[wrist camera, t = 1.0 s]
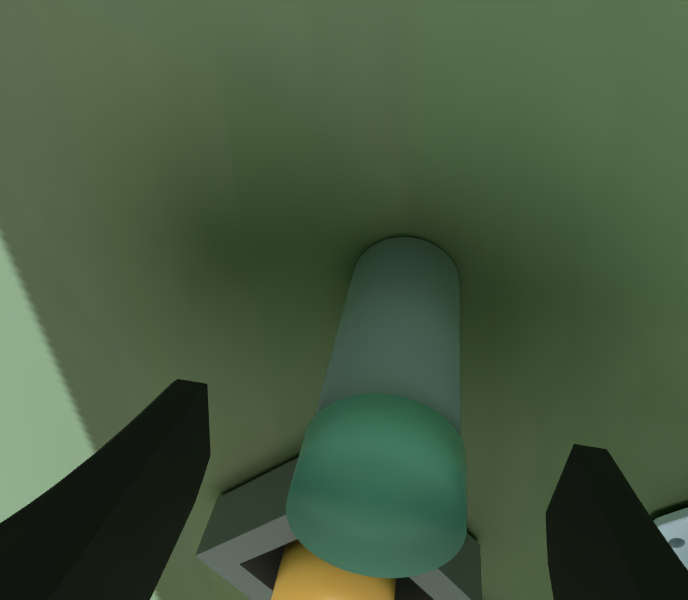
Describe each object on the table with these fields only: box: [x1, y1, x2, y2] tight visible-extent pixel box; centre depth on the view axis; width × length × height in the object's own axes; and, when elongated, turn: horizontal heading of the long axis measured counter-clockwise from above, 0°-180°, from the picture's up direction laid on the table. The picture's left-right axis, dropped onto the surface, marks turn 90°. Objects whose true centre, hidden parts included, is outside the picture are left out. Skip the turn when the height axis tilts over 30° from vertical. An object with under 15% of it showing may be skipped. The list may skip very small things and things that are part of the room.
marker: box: [286, 237, 467, 578], centre depth 15 cm, size 3×3×8 cm
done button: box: [271, 539, 396, 600], centre depth 22 cm, size 4×4×2 cm
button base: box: [195, 458, 482, 600], centre depth 23 cm, size 7×7×2 cm
